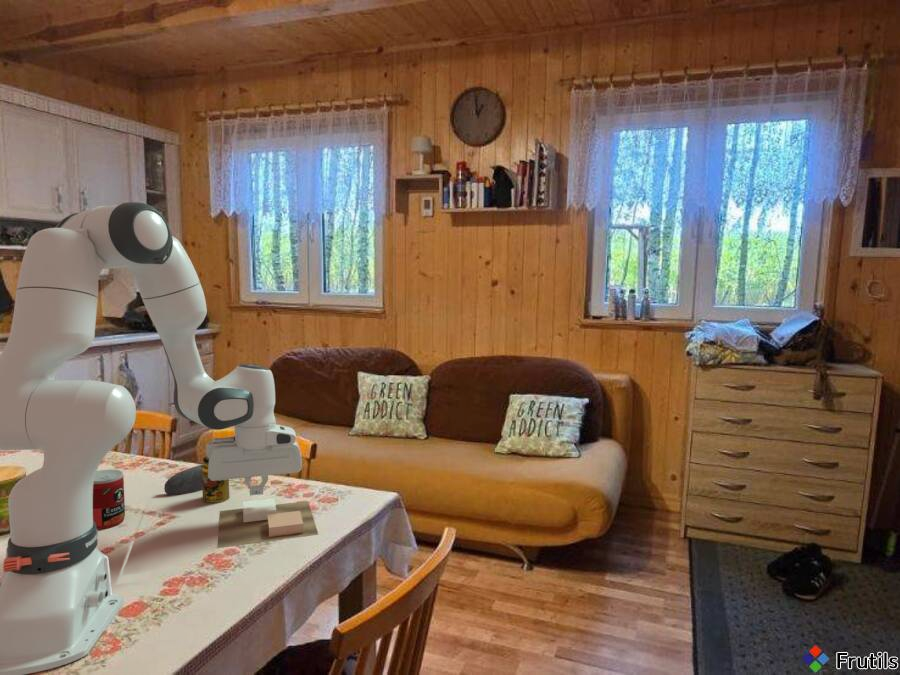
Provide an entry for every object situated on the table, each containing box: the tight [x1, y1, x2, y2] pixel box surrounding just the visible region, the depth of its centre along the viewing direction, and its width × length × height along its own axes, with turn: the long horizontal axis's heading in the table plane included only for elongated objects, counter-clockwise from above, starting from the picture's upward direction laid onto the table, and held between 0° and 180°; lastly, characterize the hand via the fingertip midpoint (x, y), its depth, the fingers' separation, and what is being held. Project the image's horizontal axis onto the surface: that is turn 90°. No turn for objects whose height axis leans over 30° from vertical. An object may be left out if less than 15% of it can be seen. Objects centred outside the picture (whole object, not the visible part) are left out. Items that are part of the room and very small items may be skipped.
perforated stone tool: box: [163, 464, 204, 496], centre depth 147 cm, size 15×5×7 cm, turn 132°
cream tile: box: [242, 498, 276, 523], centre depth 132 cm, size 7×2×7 cm
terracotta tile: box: [267, 511, 303, 537], centre depth 125 cm, size 7×2×7 cm
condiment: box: [201, 455, 230, 505], centre depth 141 cm, size 7×8×12 cm
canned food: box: [93, 469, 126, 530], centre depth 129 cm, size 8×8×11 cm
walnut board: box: [217, 500, 319, 549], centre depth 129 cm, size 19×20×1 cm
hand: (256, 494), depth 131 cm, fingers closed
